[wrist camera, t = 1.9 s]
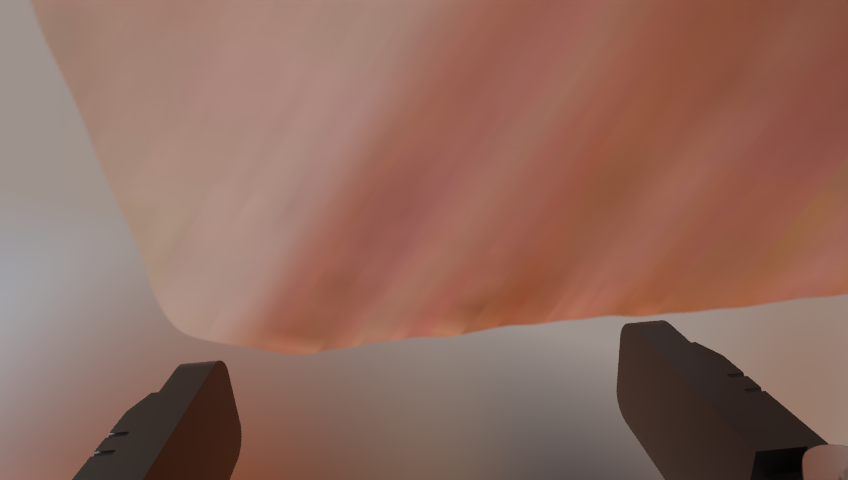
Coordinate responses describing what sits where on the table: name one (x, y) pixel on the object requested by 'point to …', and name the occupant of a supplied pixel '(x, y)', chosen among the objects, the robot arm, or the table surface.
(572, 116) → the table surface
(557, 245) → the table surface
